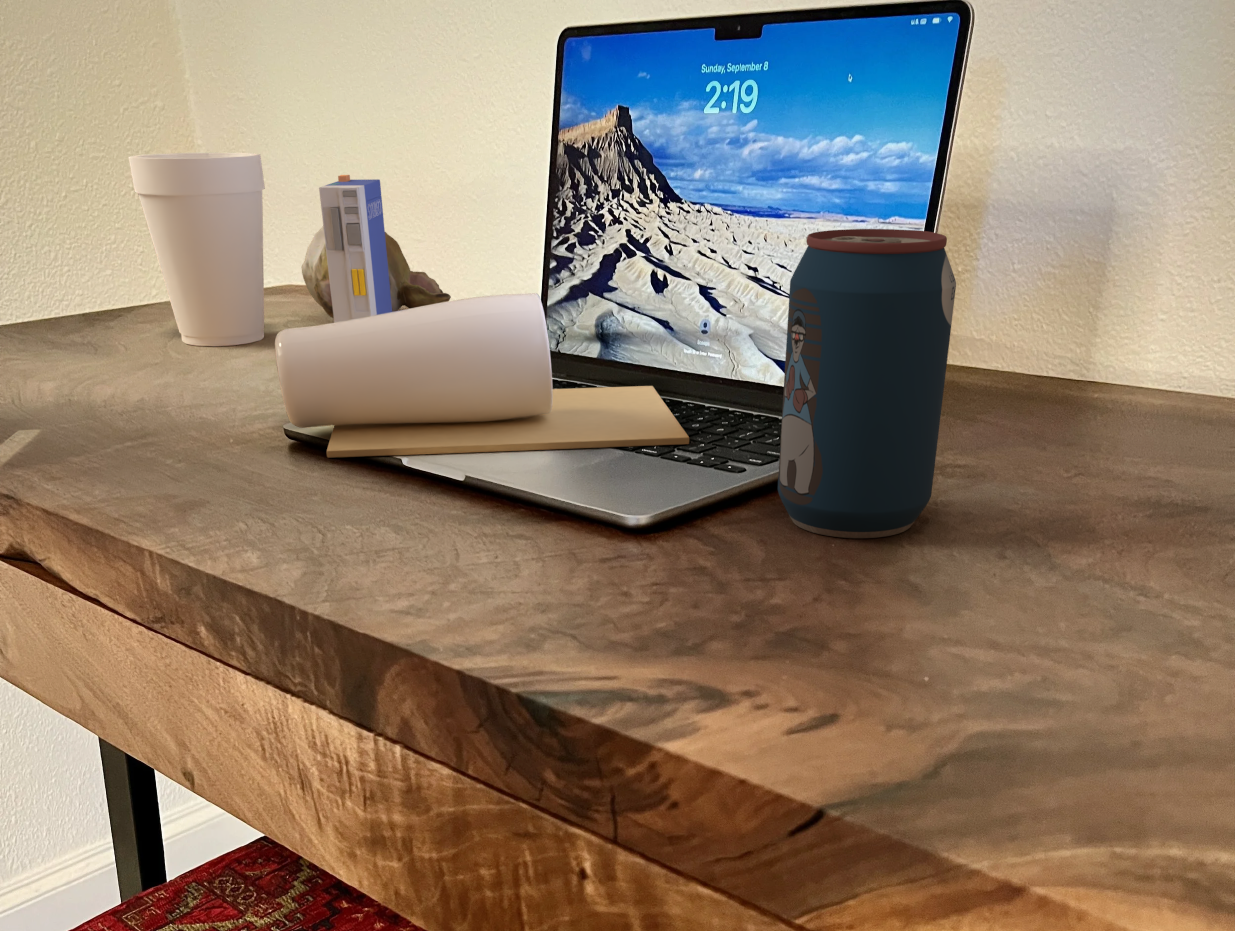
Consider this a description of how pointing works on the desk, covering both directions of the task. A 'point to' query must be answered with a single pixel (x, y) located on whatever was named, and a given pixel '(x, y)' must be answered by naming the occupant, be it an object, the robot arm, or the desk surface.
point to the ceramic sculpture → (403, 282)
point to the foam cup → (207, 240)
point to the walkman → (355, 248)
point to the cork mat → (528, 428)
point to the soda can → (864, 380)
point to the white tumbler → (420, 365)
